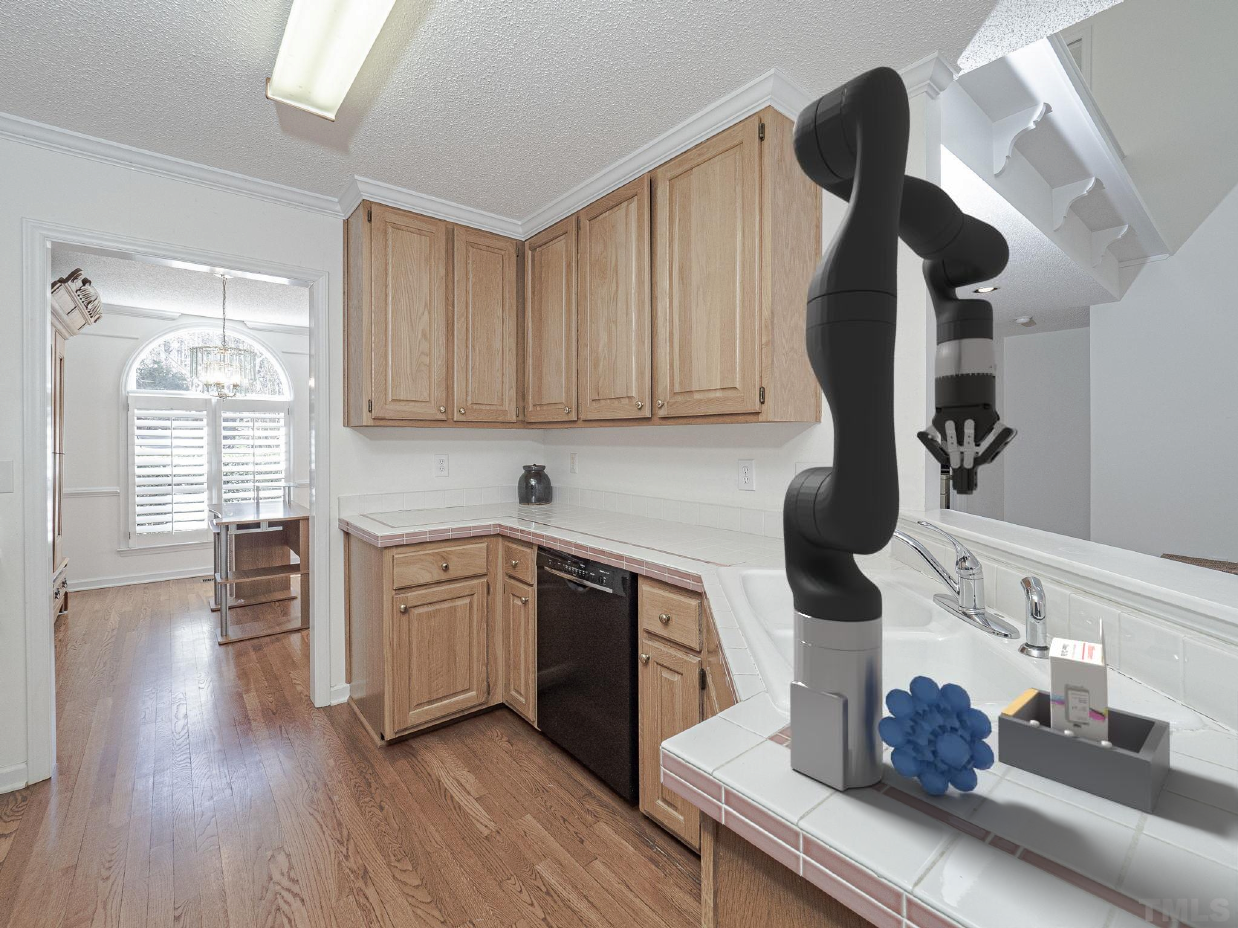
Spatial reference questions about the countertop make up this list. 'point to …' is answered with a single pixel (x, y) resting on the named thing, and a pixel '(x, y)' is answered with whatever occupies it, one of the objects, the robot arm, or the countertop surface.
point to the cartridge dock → (1088, 751)
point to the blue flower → (936, 735)
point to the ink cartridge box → (1079, 687)
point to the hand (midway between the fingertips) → (965, 494)
